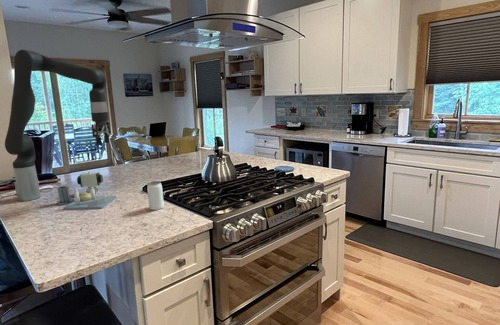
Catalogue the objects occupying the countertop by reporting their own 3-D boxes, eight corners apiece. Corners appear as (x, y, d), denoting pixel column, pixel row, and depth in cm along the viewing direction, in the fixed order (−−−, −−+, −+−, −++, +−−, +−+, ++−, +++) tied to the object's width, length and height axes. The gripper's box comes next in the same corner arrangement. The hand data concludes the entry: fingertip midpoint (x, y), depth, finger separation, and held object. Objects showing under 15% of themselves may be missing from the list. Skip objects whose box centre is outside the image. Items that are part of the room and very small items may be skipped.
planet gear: (52, 205, 153) (50, 189, 151) (62, 200, 160) (59, 185, 159) (68, 205, 153) (66, 189, 151) (77, 199, 160) (75, 184, 159)
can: (150, 211, 141) (148, 185, 138) (148, 207, 146) (145, 182, 144) (165, 208, 143) (162, 183, 141) (162, 204, 149) (159, 180, 147)
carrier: (63, 209, 146) (60, 192, 145) (81, 198, 162) (79, 182, 160) (101, 208, 146) (99, 191, 144) (116, 197, 162) (114, 181, 160)
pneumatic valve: (102, 193, 170) (99, 172, 167) (79, 195, 167) (75, 173, 165) (105, 190, 175) (102, 169, 172) (82, 192, 173) (79, 171, 170)
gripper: (98, 110, 162) (102, 142, 166) (84, 112, 148) (88, 146, 152) (113, 110, 162) (116, 141, 165) (100, 112, 148) (104, 146, 152)
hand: (103, 144), depth 159 cm, fingers open, 8 cm apart
